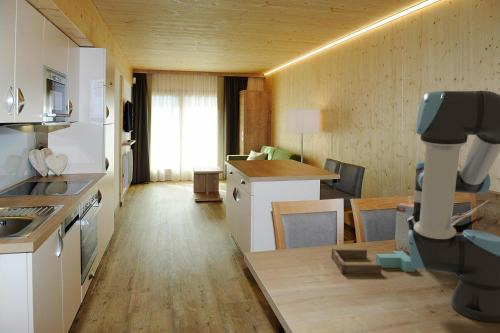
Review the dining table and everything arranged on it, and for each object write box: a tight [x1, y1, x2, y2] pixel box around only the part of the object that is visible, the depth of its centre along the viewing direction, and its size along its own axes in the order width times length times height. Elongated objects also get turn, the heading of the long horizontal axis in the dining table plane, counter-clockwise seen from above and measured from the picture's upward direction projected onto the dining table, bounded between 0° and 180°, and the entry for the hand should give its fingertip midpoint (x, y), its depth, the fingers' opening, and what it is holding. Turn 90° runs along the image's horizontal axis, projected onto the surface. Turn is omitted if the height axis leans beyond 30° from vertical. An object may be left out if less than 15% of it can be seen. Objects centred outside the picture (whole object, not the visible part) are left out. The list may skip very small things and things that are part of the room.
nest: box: [331, 248, 382, 276], centre depth 151 cm, size 18×14×4 cm
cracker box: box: [394, 202, 416, 256], centre depth 164 cm, size 14×6×21 cm, turn 36°
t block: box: [375, 250, 416, 273], centre depth 151 cm, size 12×12×4 cm
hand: (420, 260), depth 151 cm, fingers closed
